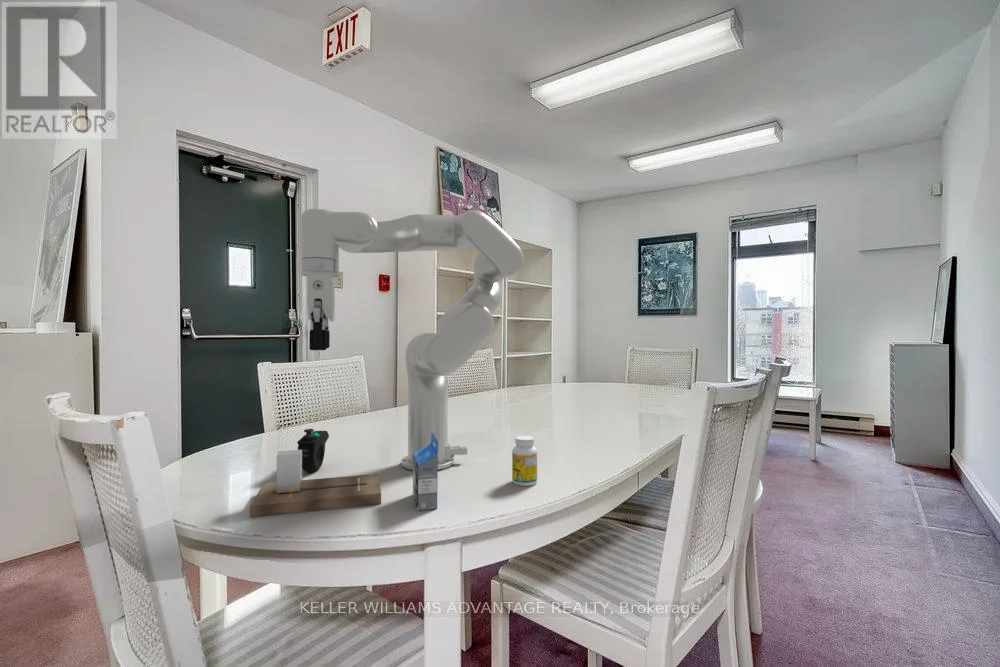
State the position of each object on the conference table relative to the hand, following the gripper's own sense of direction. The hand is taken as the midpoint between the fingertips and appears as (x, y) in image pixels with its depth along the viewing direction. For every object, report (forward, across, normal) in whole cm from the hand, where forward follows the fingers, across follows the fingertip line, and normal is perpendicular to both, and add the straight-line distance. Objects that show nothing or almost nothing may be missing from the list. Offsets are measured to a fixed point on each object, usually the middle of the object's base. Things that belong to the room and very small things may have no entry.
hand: (320, 349), depth 99 cm
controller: (+28, +9, +2) cm, 30 cm away
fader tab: (+26, -11, +5) cm, 29 cm away
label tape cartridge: (+29, -18, -20) cm, 39 cm away
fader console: (+28, -11, -1) cm, 30 cm away
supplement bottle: (+28, -13, -42) cm, 52 cm away
